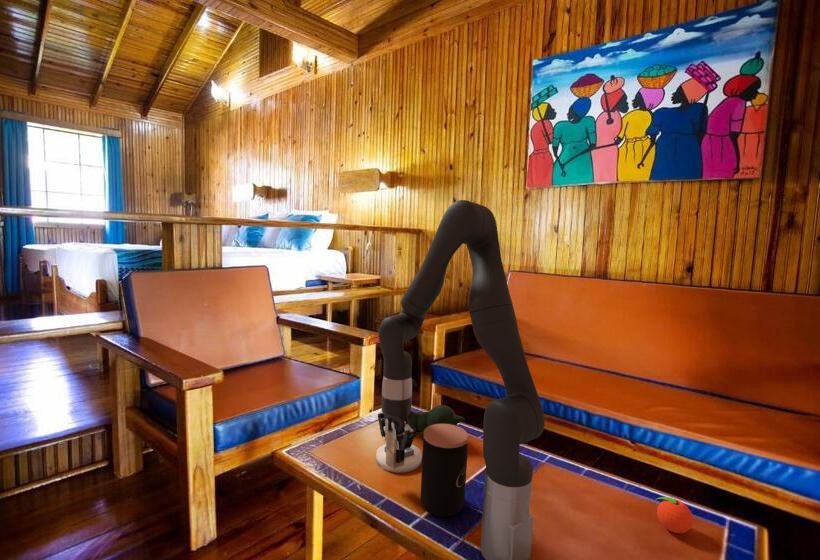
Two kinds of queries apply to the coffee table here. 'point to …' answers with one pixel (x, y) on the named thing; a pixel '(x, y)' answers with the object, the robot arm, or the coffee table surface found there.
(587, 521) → the coffee table surface
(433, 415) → the toy figurine
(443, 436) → the coffee jar
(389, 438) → the wood grain block
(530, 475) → the robot arm
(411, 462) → the candle dish
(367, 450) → the coffee table surface
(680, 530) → the clementine
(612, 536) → the coffee table surface
